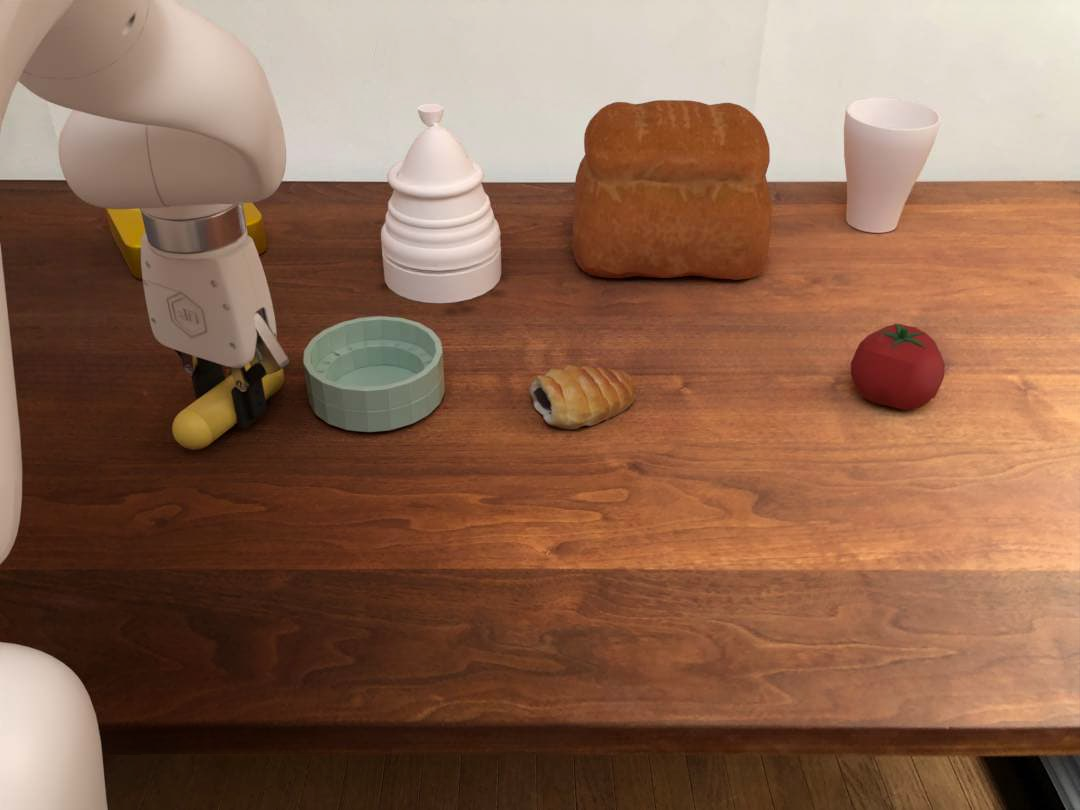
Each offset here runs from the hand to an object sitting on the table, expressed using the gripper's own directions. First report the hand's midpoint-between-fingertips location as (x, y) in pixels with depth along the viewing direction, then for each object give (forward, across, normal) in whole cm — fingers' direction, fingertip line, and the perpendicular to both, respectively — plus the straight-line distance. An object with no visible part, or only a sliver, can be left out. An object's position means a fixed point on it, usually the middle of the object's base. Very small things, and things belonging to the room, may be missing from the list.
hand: (233, 410), depth 93 cm
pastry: (+1, +26, +16) cm, 31 cm away
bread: (+1, +22, +48) cm, 53 cm away
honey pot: (+1, +2, +32) cm, 32 cm away
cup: (+1, +41, +67) cm, 79 cm away
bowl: (+1, +9, +9) cm, 13 cm away
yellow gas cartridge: (+1, 0, 0) cm, 1 cm away
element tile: (+1, -28, +25) cm, 38 cm away
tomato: (+1, +51, +31) cm, 60 cm away
